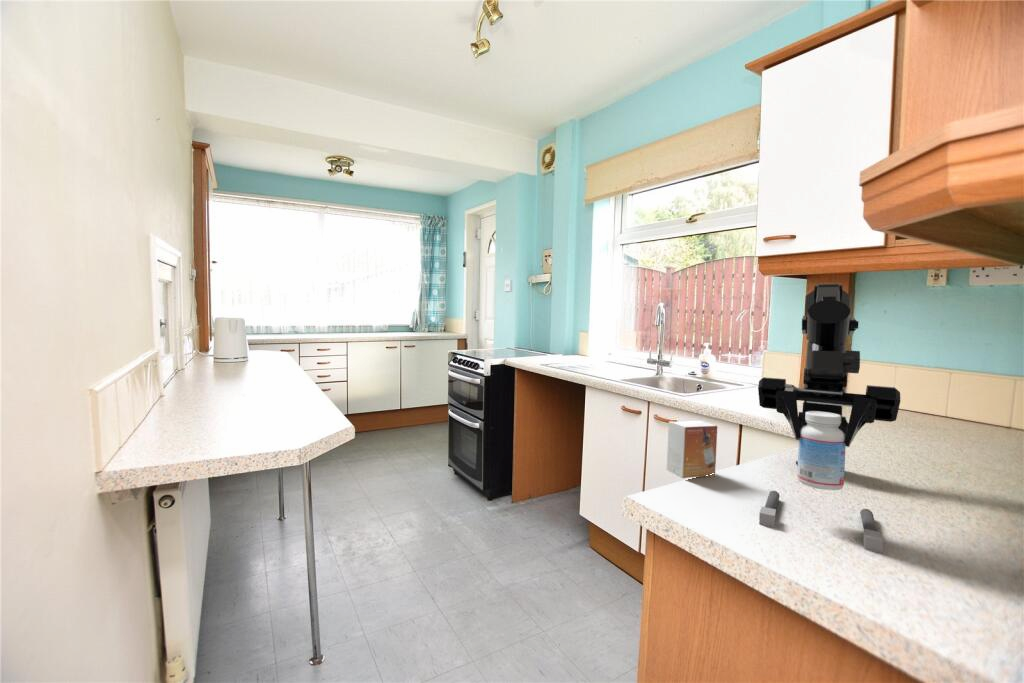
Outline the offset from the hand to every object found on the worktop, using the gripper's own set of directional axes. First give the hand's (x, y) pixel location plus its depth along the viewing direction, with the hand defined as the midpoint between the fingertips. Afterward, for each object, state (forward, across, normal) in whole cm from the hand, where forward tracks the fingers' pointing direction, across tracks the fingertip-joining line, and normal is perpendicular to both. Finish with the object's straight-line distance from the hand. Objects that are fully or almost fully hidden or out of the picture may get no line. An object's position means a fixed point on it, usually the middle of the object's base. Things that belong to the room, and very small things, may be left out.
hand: (821, 441), depth 70 cm
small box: (0, -22, +19) cm, 29 cm away
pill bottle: (+4, 0, +6) cm, 7 cm away
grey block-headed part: (+8, +7, +10) cm, 15 cm away
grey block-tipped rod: (+8, -6, +10) cm, 15 cm away
